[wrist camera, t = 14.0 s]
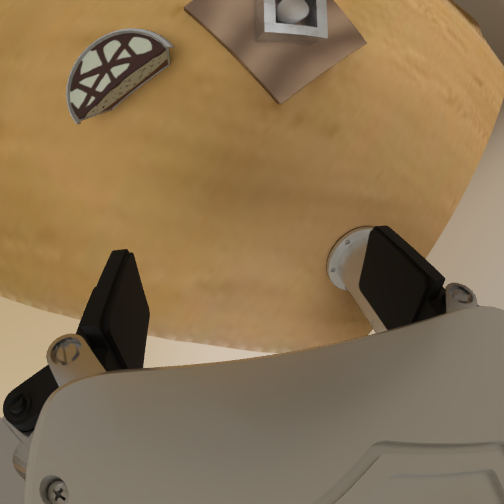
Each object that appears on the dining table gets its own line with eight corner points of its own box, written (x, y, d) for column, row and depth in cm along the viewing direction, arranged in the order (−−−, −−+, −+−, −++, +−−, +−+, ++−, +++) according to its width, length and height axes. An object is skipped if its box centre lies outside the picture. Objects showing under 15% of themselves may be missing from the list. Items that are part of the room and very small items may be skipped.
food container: (154, 25, 25) (139, 2, 16) (180, 57, 28) (172, 43, 20) (79, 85, 27) (42, 85, 18) (103, 117, 30) (71, 126, 21)
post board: (361, 44, 29) (387, 39, 24) (278, 104, 33) (293, 105, 28) (279, -46, 21) (293, -66, 15) (184, 10, 24) (181, -7, 19)
